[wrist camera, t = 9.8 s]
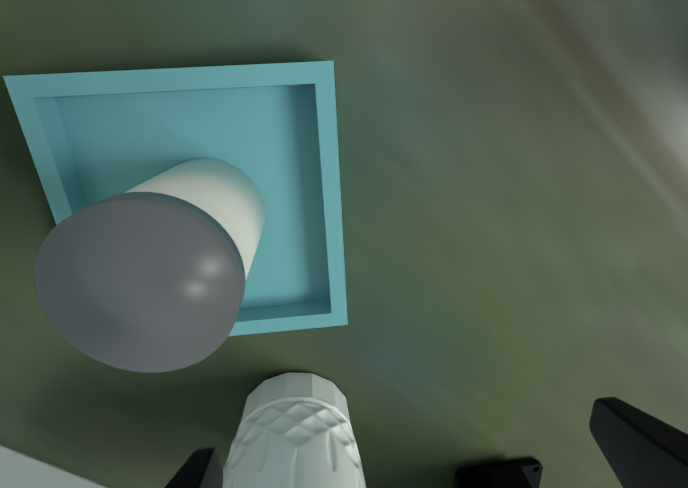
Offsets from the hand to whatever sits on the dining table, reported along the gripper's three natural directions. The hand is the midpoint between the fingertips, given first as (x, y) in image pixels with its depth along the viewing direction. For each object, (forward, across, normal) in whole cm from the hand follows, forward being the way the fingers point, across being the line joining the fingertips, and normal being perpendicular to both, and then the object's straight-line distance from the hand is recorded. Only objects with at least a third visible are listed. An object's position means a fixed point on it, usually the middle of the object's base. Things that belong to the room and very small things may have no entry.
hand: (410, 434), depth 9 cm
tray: (+12, +7, -3) cm, 14 cm away
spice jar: (+12, +7, -3) cm, 14 cm away
